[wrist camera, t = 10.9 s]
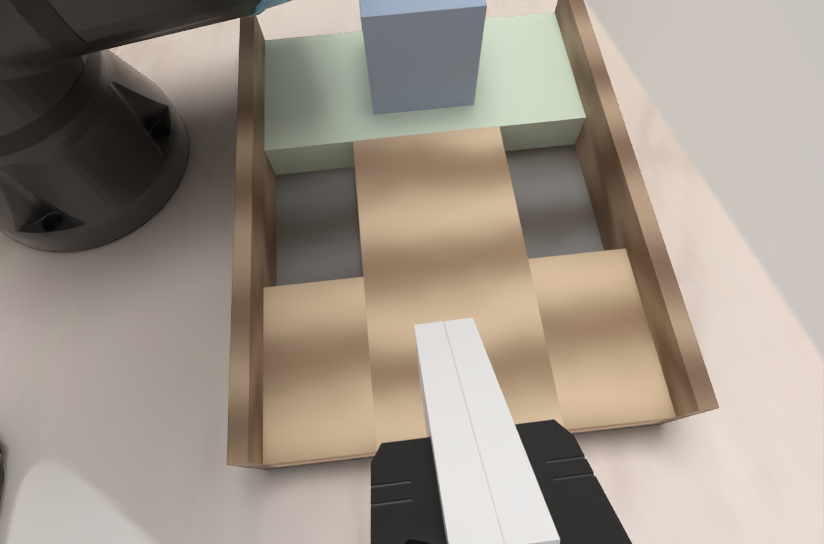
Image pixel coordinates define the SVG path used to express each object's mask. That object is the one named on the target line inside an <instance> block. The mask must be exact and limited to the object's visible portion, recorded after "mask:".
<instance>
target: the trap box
mask: <svg viewBox="0 0 824 544" xmlns="http://www.w3.org/2000/svg"><path fill="white" fill-rule="evenodd" d="M555 15H556V19H557V22H558V25H559V29H560V32H561V35H562V39H563V42H564V45H565V49H566V52H567V55H568V59H569V62H570V65H571V69H572V72H573V75H574V79H575V82H576V85H577V89H578V92H579V95H580V99H581V102H582V105H583V109H584V112H585V115H586V119H585V121H584V124H583V126H582V128H581V130H580V133H579V135H578V137H577V140H576V142H575V144H571V145H562V146H552V147H542V148H533V149H523V150H513V151H505V150H504V145H503V141H502V136H501V131H500V127H499V126H494V127H484V128H474V129H465V130H455V131H445V132H435V133H425V134H416V135H406V136H396V137H386V138H376V139H367V140H357V141H353V148H354V161H355V167H349V168H339V169H329V170H320V171H310V172H300V173H291V174H281V175H276V174H275V172H274V170H273V168H272V166H271V163H270V161H269V159H268V157H267V155H266V153H265V151H264V122H265V40H264V37H263V34H262V31H261V28H260V25H259V23H258V20H257V17H256V15H255V16H253V17H248V16H245V17H241V18H240V41H239V74H238V107H237V141H236V174H235V207H234V240H233V274H232V307H231V340H230V374H229V407H228V440H227V465H231V466H239V467H247V468H255V469H263V470H267V469H276V468H285V467H293V466H302V465H310V464H319V463H328V462H336V461H345V460H354V459H362V458H371V457H374V456H375V454H376V452H377V450H378V449H379V447H380V445H381V443H387V442H394V441H402V440H410V439H418V438H425V437H427V432H426V425H425V419H424V411H423V402H422V393H421V384H420V375H419V366H418V357H417V348H416V339H415V330H414V325H416V324H425V323H433V322H441V321H449V320H457V319H465V318H473V320H474V322H475V325H476V327H477V330H478V332H479V335H480V338H481V340H482V343H483V345H484V348H485V350H486V353H487V355H488V358H489V360H490V363H491V365H492V368H493V370H494V373H495V376H496V378H497V381H498V383H499V386H500V388H501V391H502V393H503V396H504V398H505V401H506V403H507V406H508V409H509V411H510V414H511V416H512V419H513V421H514V424H521V423H529V422H537V421H545V420H552V419H554V420H556V421H557V422H558V423H559V424H560V425H562V426H563V427H564V428H565V429H567V430H568V431H569V432H570V433H571V434H578V433H586V432H595V431H604V430H612V429H621V428H629V427H638V426H647V425H655V424H663V423H667V422H670V421H674V420H678V419H681V418H685V417H689V416H692V415H696V414H699V413H703V412H707V411H710V410H714V409H718V408H719V406H718V403H717V400H716V397H715V394H714V391H713V388H712V385H711V382H710V379H709V376H708V373H707V370H706V367H705V364H704V361H703V358H702V355H701V352H700V349H699V346H698V343H697V340H696V337H695V334H694V331H693V328H692V325H691V322H690V319H689V316H688V313H687V310H686V307H685V304H684V301H683V298H682V295H681V292H680V289H679V286H678V283H677V280H676V277H675V274H674V271H673V268H672V265H671V262H670V259H669V256H668V253H667V250H666V247H665V244H664V241H663V238H662V235H661V232H660V229H659V226H658V223H657V220H656V217H655V214H654V211H653V208H652V205H651V202H650V199H649V196H648V193H647V190H646V187H645V184H644V181H643V178H642V175H641V172H640V169H639V166H638V163H637V160H636V157H635V154H634V151H633V148H632V145H631V142H630V139H629V136H628V133H627V130H626V127H625V124H624V121H623V118H622V115H621V112H620V109H619V106H618V103H617V100H616V97H615V94H614V91H613V88H612V85H611V82H610V79H609V76H608V73H607V70H606V67H605V64H604V61H603V58H602V55H601V52H600V49H599V46H598V43H597V40H596V37H595V34H594V31H593V28H592V25H591V22H590V19H589V16H588V13H587V10H586V7H585V4H584V1H583V0H558V2H557V6H556V9H555Z"/></svg>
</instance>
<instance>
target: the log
mask: <svg viewBox="0 0 824 544" xmlns="http://www.w3.org/2000/svg"><path fill="white" fill-rule="evenodd" d="M3 481H4V470H3V461H2V454H1V452H0V499H1V493H2V487H3Z"/></svg>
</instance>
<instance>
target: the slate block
mask: <svg viewBox="0 0 824 544" xmlns="http://www.w3.org/2000/svg"><path fill="white" fill-rule="evenodd" d="M359 4H360V15H361V23H362V30H363V38H364V45H365V53H366V60H367V68H368V75H369V83H370V90H371V98H372V105H373V113H374V115H377V114H387V113H397V112H407V111H417V110H428V109H438V108H448V107H458V106H468V105H474V100H475V93H476V85H477V77H478V70H479V62H480V54H481V47H482V39H483V31H484V24H485V16H486V8H487V4H486V0H359Z"/></svg>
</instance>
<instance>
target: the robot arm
mask: <svg viewBox="0 0 824 544" xmlns="http://www.w3.org/2000/svg"><path fill="white" fill-rule="evenodd" d="M288 1H291V0H0V231H1V232H3V233H4V234H6V235H8V236H9V237H11V238H13V239H14V240H16V241H18V242H20V243H22V244H24V245H26V246H29V247H32V248H36V249H39V250H45V251H54V252H70V251H79V250H85V249H89V248H94V247H97V246H101V245H104V244H106V243H109V242H112V241H114V240H116V239H119V238H120V237H122V236H124V235H126V234H128V233H130V232H132V231H133V230H135V229H136V228H138V227H139V226H141V225H142V224H143V223H145V222H146V221H147V220H149V219H150V218H151V217H152V216H153V215H154V214H155V213H156V212H158V211H159V210H160V208H161V207H162V206H163V205H164V204H165V203H166V202H167V200H168V199H169V198H170V196H171V195H172V194H173V192H174V191H175V189H176V187H177V186H178V184H179V182H180V180H181V177H182V175H183V173H184V170H185V167H186V163H187V157H188V137H187V132H186V129H185V126H184V123H183V121H182V119H181V117H180V116H179V114H178V113H177V111H176V110H175V108H174V107H173V105H172V104H171V102H170V101H169V99H168V98H167V96H166V95H165V94H164V93H163V91H162V90H161V89H160V88H159V87H158V86H157V85H156V84H154V83H153V82H152V81H151V80H149V79H148V78H147V77H145V76H144V75H143V74H141V73H140V72H138V71H137V70H136V69H134V68H133V67H132V66H130V65H129V64H127V63H126V62H125V61H123V60H122V59H121V58H119V57H118V56H117V55H115V54H114V53H112V52H111V51H110V50H108V49H110V48H114V47H118V46H122V45H127V44H131V43H135V42H139V41H143V40H148V39H152V38H156V37H160V36H165V35H169V34H173V33H177V32H182V31H186V30H190V29H194V28H198V27H203V26H207V25H211V24H215V23H220V22H224V21H228V20H232V19H236V18H241V17H245V16H248V17H253V16H255V15H259V14H261V13H262V12H263V11H264V10H265V9H267V8H270V7H273V6H276V5H279V4H282V3H285V2H288ZM414 330H415V339H416V348H417V357H418V366H419V375H420V384H421V393H422V402H423V411H424V419H425V425H426V432H427V437H425V438H418V439H410V440H402V441H394V442H387V443H381V445H380V447H379V449H378V450H377V452H376V454H375V456H374V458H373V460H372V462H371V544H632V543H631V541H630V539H629V537H628V535H627V533H626V532H625V530H624V528H623V526H622V524H621V522H620V520H619V519H618V517H617V515H616V513H615V511H614V509H613V507H612V506H611V504H610V502H609V500H608V498H607V496H606V495H605V493H604V491H603V489H602V487H601V485H600V483H599V482H598V480H597V478H596V476H595V477H594V474H593V470H592V469H591V467H590V465H589V463H588V461H587V459H585V457H584V454H583V452H582V450H581V448H580V446H579V445H578V443H577V441H576V439H575V437H574V435H573V434H571V433H570V432H569V431H568V430H567V429H565V428H564V427H563V426H562V425H560V424H559V423H558V422H557V421H556V420H554V419H552V420H545V421H537V422H529V423H521V424H514V421H513V419H512V416H511V414H510V411H509V409H508V406H507V403H506V401H505V398H504V396H503V393H502V391H501V388H500V386H499V383H498V381H497V378H496V376H495V373H494V370H493V368H492V365H491V363H490V360H489V358H488V355H487V353H486V350H485V348H484V345H483V343H482V340H481V338H480V335H479V332H478V330H477V327H476V325H475V322H474V320H473V318H465V319H457V320H449V321H441V322H433V323H425V324H416V325H414Z"/></svg>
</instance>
